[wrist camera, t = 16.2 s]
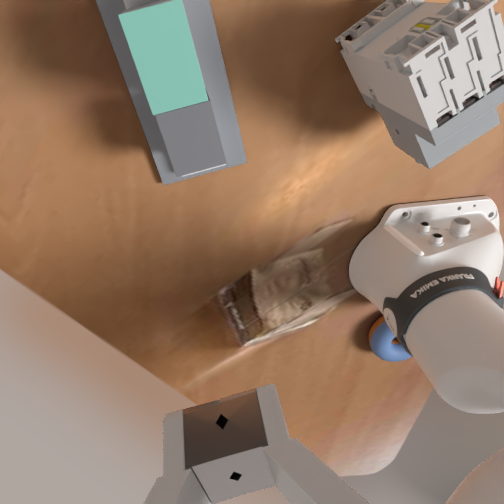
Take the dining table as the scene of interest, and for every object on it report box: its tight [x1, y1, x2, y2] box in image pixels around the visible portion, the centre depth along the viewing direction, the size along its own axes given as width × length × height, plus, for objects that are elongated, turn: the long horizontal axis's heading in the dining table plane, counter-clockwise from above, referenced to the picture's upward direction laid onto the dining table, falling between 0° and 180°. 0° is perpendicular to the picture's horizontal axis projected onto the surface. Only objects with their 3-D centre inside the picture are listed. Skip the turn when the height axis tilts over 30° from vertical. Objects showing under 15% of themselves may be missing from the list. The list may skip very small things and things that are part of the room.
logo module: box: [118, 0, 209, 115], centre depth 35 cm, size 4×7×10 cm, turn 12°
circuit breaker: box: [335, 0, 504, 169], centre depth 40 cm, size 8×14×15 cm, turn 34°
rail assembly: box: [96, 0, 247, 185], centre depth 37 cm, size 10×28×8 cm, turn 12°
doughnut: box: [369, 315, 412, 361], centre depth 67 cm, size 10×10×5 cm
